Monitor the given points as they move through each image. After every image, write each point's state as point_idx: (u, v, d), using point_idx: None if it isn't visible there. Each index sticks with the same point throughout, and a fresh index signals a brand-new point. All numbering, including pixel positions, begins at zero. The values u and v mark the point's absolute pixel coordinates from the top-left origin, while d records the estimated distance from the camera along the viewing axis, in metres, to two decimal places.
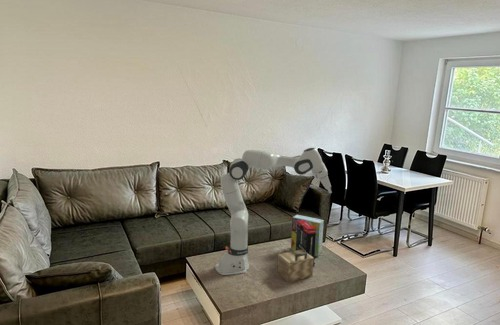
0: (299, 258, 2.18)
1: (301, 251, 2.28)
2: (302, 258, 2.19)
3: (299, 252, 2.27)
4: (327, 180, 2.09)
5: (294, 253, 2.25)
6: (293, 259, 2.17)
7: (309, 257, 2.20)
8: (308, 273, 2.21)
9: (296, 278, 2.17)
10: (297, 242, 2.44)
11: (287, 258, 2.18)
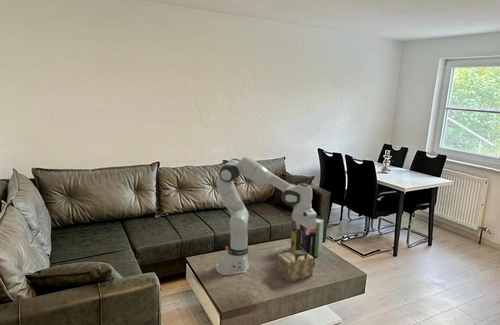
0: (299, 258, 2.18)
1: (301, 251, 2.28)
2: (302, 258, 2.19)
3: (299, 252, 2.27)
4: (314, 222, 2.04)
5: (294, 253, 2.25)
6: (293, 259, 2.17)
7: (309, 257, 2.20)
8: (308, 273, 2.21)
9: (296, 278, 2.17)
10: (297, 242, 2.44)
11: (287, 258, 2.18)
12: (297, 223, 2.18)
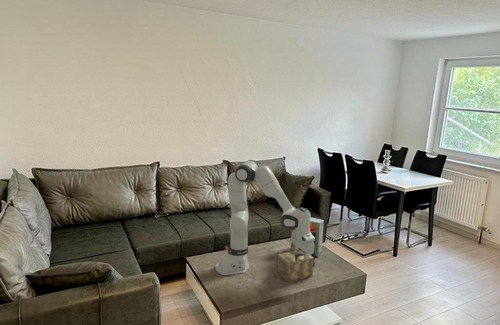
0: (299, 258, 2.18)
1: (301, 251, 2.28)
2: (302, 258, 2.19)
3: (299, 252, 2.27)
4: (313, 246, 2.07)
5: (294, 253, 2.25)
6: (293, 259, 2.17)
7: (309, 257, 2.20)
8: (308, 273, 2.21)
9: (296, 278, 2.17)
10: None
11: (287, 258, 2.18)
12: None
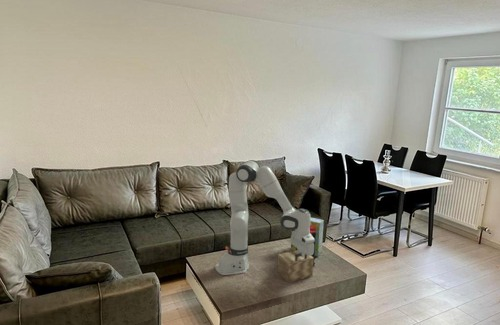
0: (299, 258, 2.18)
1: (301, 251, 2.28)
2: (302, 258, 2.19)
3: None
4: (313, 247, 2.07)
5: (294, 253, 2.25)
6: (293, 259, 2.17)
7: (309, 257, 2.20)
8: (308, 273, 2.21)
9: (296, 278, 2.17)
10: None
11: (287, 258, 2.18)
12: None
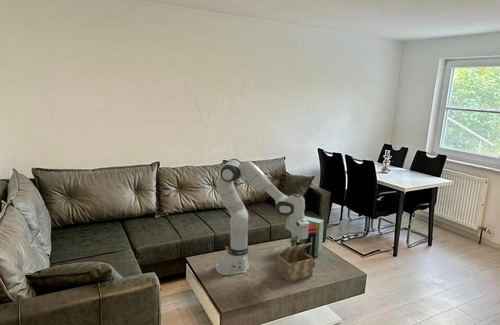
0: None
1: None
2: None
3: None
4: (307, 231, 2.11)
5: None
6: None
7: None
8: (308, 273, 2.21)
9: (296, 278, 2.17)
10: (297, 242, 2.44)
11: None
12: None
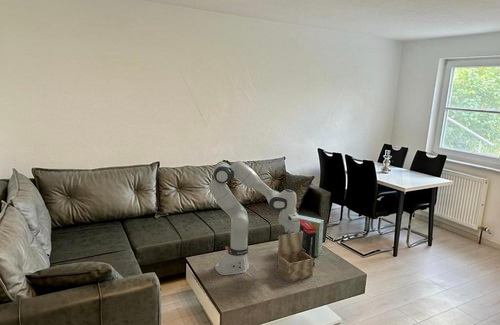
0: None
1: None
2: None
3: None
4: (298, 225, 2.19)
5: None
6: None
7: None
8: (308, 273, 2.21)
9: (296, 278, 2.17)
10: None
11: None
12: (286, 228, 2.30)
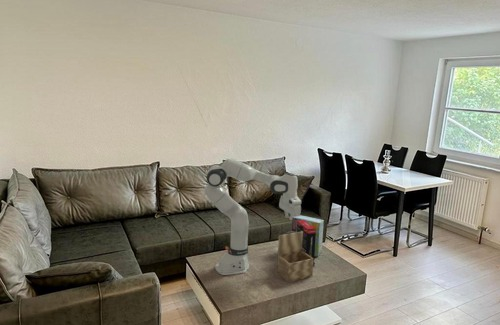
0: None
1: None
2: None
3: None
4: (299, 209, 2.17)
5: None
6: None
7: None
8: (308, 273, 2.21)
9: (296, 278, 2.17)
10: None
11: None
12: (286, 212, 2.29)
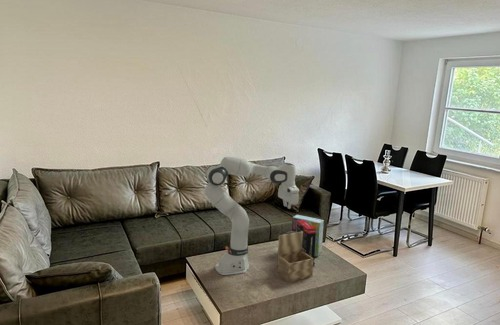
0: None
1: None
2: None
3: None
4: (297, 197, 2.24)
5: None
6: None
7: None
8: (308, 273, 2.21)
9: (296, 278, 2.17)
10: None
11: None
12: (284, 201, 2.35)
